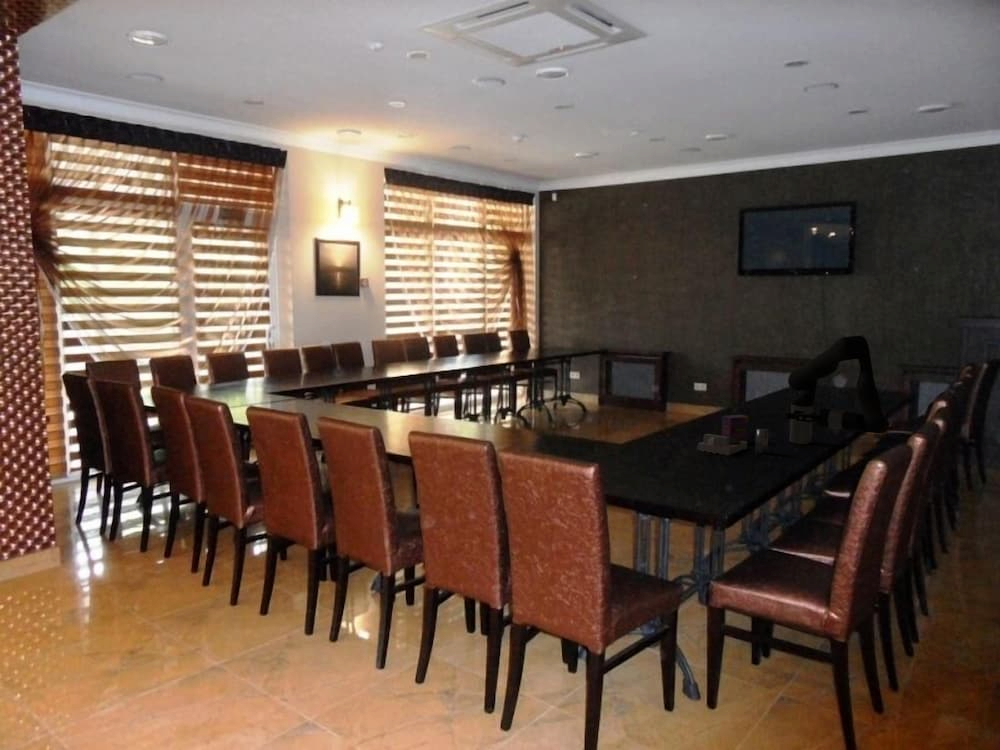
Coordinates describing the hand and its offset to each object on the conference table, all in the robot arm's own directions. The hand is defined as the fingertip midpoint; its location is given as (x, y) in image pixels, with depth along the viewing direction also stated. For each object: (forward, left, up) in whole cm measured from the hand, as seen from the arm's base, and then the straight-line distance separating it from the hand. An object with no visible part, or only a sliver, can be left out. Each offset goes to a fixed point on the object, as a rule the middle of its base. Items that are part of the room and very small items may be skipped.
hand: (790, 414), depth 296 cm
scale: (+5, -26, -18) cm, 32 cm away
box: (-15, -29, -18) cm, 38 cm away
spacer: (0, -11, -18) cm, 21 cm away
